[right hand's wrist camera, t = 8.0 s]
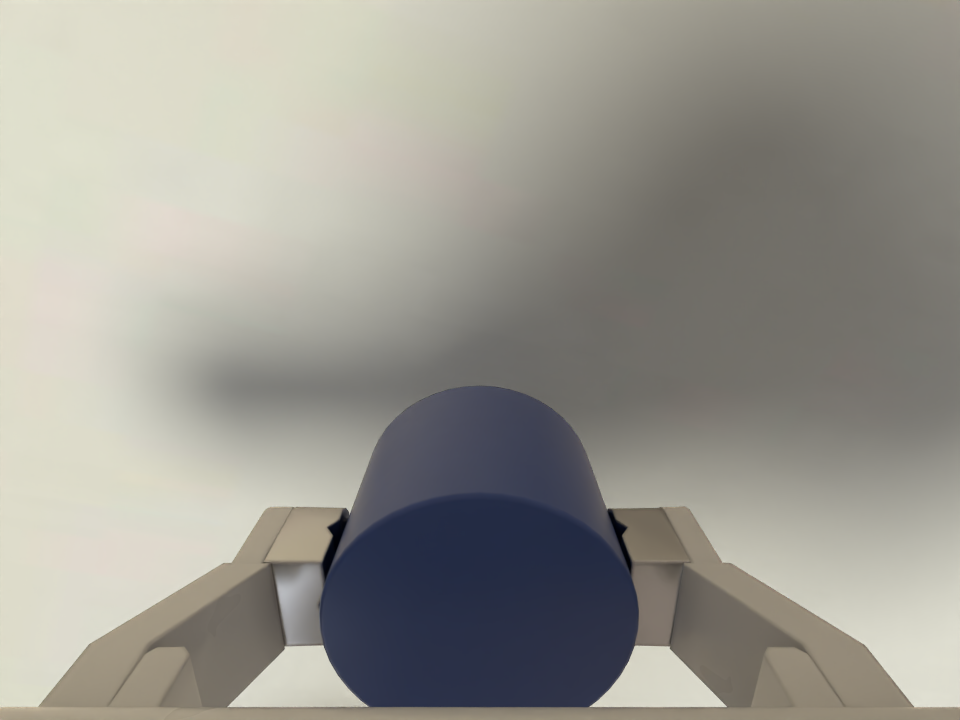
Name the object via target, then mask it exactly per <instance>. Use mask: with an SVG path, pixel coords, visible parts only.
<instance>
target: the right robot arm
mask: <svg viewBox="0 0 960 720" xmlns="http://www.w3.org/2000/svg"><path fill="white" fill-rule="evenodd" d="M607 511H608V514H609V517H610V520H611V522H612V525H613V528H614V531H615V533H616V536H617V539H618V542H619V544H620V547H621V550H622V552H623V555H624V558H625V561H626V563H627V566H628V569H629V572H630V574H631V577H632V580H633V583H634V587H635V590H636V593H637V598H638V606H639V625H638V632H637V637H636V641H635V645H642V646H670V649H671V650H672V651H673V652H674V653H675V654H676V655H677V656H678V657H679V658H680V659H681V660H682V661H683V662H684V663H685V664H686V665H687V666H688V667H689V668H690V669H691V670H692V672H693V673H694V674H695V675H696V676H697V677H698V678H699V679H700V680H701V681H702V682H703V683H704V684H705V685H706V686H707V687H708V688H709V689H710V690H711V691H712V692H713V693H714V694H715V695H716V696H717V697H718V698H719V699H720V700H721V701H722V702H723V703H724V704H725V705H726V706H727V707H227V706H228V705H229V704H230V703H231V702H232V701H233V700H234V699H235V698H236V697H237V696H238V695H239V694H240V693H241V692H242V691H243V690H244V689H245V688H246V687H247V686H248V685H249V684H250V683H251V682H252V681H253V680H254V679H255V678H256V677H257V676H258V675H259V674H260V673H261V672H262V671H263V670H264V669H265V668H266V667H267V666H268V665H269V664H270V663H271V662H272V661H273V660H274V659H275V658H276V657H277V656H278V655H279V654H280V653H281V652H282V651H283V650H284V649H285V648H284V646H312V645H323V640H322V636H321V631H320V619H319V609H320V600H321V594H322V591H323V587H324V584H325V581H326V578H327V575H328V572H329V570H330V567H331V564H332V561H333V559H334V556H335V553H336V551H337V548H338V545H339V543H340V540H341V537H342V534H343V532H344V529H345V526H346V524H347V521H348V518H349V512H348V510H347V509H346V508H323V507H269V508H267V509H266V510H265V511H264V512H263V514H262V515H261V517H260V519H259V520H258V522H257V523H256V525H255V527H254V528H253V530H252V531H251V533H250V535H249V536H248V538H247V539H246V541H245V543H244V544H243V546H242V547H241V549H240V551H239V552H238V554H237V555H236V557H235V559H234V560H233V562H232V563H223V564H221V565H220V566H218V567H216V568H215V569H213V570H212V571H210V572H208V573H207V574H205V575H203V576H202V577H200V578H198V579H197V580H195V581H193V582H192V583H190V584H188V585H187V586H185V587H183V588H182V589H180V590H178V591H177V592H175V593H173V594H172V595H170V596H168V597H167V598H165V599H164V600H162V601H160V602H159V603H157V604H155V605H154V606H152V607H150V608H149V609H147V610H145V611H144V612H142V613H140V614H139V615H137V616H135V617H134V618H132V619H130V620H129V621H127V622H125V623H124V624H122V625H120V626H119V627H117V628H116V629H114V630H112V631H111V632H109V633H107V634H106V635H104V636H102V637H101V638H99V639H97V640H96V641H94V642H92V643H91V644H89V645H88V646H87V648H86V649H85V650H84V651H83V653H82V654H81V655H80V656H79V658H78V659H77V660H76V661H75V662H74V664H73V665H72V666H71V667H70V669H69V670H68V671H67V672H66V673H65V675H64V676H63V677H62V678H61V680H60V681H59V682H58V683H57V684H56V686H55V687H54V688H53V689H52V691H51V692H50V693H49V694H48V696H47V697H46V698H45V699H44V700H43V702H42V703H41V704H40V705H39V707H0V720H960V707H914V706H913V705H912V704H911V702H910V701H909V700H908V699H907V697H906V696H905V695H904V694H903V692H902V691H901V690H900V689H899V687H898V686H897V685H896V684H895V682H894V681H893V680H892V679H891V677H890V676H889V675H888V674H887V672H886V671H885V670H884V669H883V667H882V666H881V665H880V664H879V662H878V661H877V660H876V659H875V657H874V656H873V655H872V653H871V652H870V651H869V650H868V648H867V647H866V646H865V645H864V644H862V643H860V642H859V641H857V640H855V639H854V638H852V637H851V636H849V635H847V634H846V633H844V632H842V631H841V630H839V629H838V628H836V627H834V626H833V625H831V624H829V623H828V622H826V621H824V620H823V619H821V618H820V617H818V616H816V615H815V614H813V613H811V612H810V611H808V610H806V609H805V608H803V607H802V606H800V605H798V604H797V603H795V602H793V601H792V600H790V599H788V598H787V597H785V596H784V595H782V594H780V593H779V592H777V591H775V590H774V589H772V588H771V587H769V586H767V585H766V584H764V583H762V582H761V581H759V580H757V579H756V578H754V577H753V576H751V575H749V574H748V573H746V572H744V571H743V570H741V569H739V568H738V567H736V566H735V565H733V564H731V563H722V561H721V559H720V558H719V556H718V555H717V553H716V551H715V550H714V548H713V547H712V545H711V543H710V542H709V540H708V538H707V537H706V535H705V534H704V532H703V530H702V529H701V527H700V526H699V524H698V522H697V521H696V519H695V517H694V516H693V514H692V513H691V511H690V509H688V508H687V507H660V508H617V509H608V510H607Z"/></svg>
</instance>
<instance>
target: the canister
mask: <svg viewBox="0 0 960 720" xmlns="http://www.w3.org/2000/svg"><path fill="white" fill-rule="evenodd" d="M319 619H320V631H321V636H322V640H323V645H324V648H325V650H326V653H327V655H328V658H329V661H330V662H331V664H332V666H333V668H334V669H335V671H336V673H337V674H338V676H339V677H340V678H341V680H342V681H343V682H344V684H345V685H346V686H347V687H348V689H350V690H351V691H352V692H353V693H354V694H355V695H356V696H357V697H358V698H359V699H360V700H361V701H362V702H364V703H365V704H366V705H368V706H369V707H589V706H591V705H592V704H593V703H595V702H596V701H597V700H599V699H600V698H601V697H602V696H603V695H604V694H605V693H606V692H607V691H608V690H609V689H610V688H611V686H612V685H613V684H614V683H615V681H616V680H617V679H618V678H619V676H620V675H621V673H622V672H623V670H624V668H625V666H626V665H627V663H628V661H629V659H630V656H631V654H632V651H633V649H634V646H635V641H636V637H637V632H638V625H639V606H638V598H637V593H636V590H635V587H634V583H633V580H632V577H631V574H630V572H629V569H628V566H627V563H626V561H625V558H624V555H623V552H622V550H621V547H620V544H619V542H618V539H617V536H616V533H615V531H614V528H613V525H612V522H611V520H610V517H609V514H608V511H607V509H606V506H605V503H604V500H603V498H602V495H601V492H600V489H599V487H598V484H597V481H596V479H595V476H594V473H593V470H592V468H591V465H590V462H589V459H588V457H587V454H586V451H585V449H584V447H583V445H582V443H581V441H580V439H579V437H578V436H577V434H576V433H575V432H574V430H573V429H572V427H571V426H570V425H569V424H568V423H567V422H566V421H565V420H564V419H563V418H562V417H561V416H560V415H559V414H558V413H556V412H555V411H554V410H553V409H552V408H550V407H548V406H547V405H545V404H544V403H542V402H540V401H539V400H537V399H534V398H532V397H530V396H528V395H526V394H523V393H520V392H517V391H513V390H510V389H504V388H499V387H491V386H468V387H460V388H454V389H449V390H445V391H442V392H439V393H436V394H433V395H431V396H429V397H426V398H424V399H422V400H420V401H418V402H417V403H415V404H413V405H412V406H410V407H409V408H407V409H406V410H405V411H403V412H402V413H401V414H400V415H399V416H397V417H396V418H395V419H394V420H393V422H392V423H391V424H390V425H389V426H388V427H387V428H386V430H385V431H384V433H383V434H382V436H381V437H380V439H379V440H378V442H377V444H376V447H375V449H374V451H373V453H372V456H371V459H370V461H369V464H368V467H367V469H366V472H365V475H364V478H363V480H362V483H361V486H360V488H359V491H358V494H357V497H356V499H355V502H354V505H353V507H352V510H351V513H350V515H349V518H348V521H347V524H346V526H345V529H344V532H343V534H342V537H341V540H340V543H339V545H338V548H337V551H336V553H335V556H334V559H333V561H332V564H331V567H330V570H329V572H328V575H327V578H326V581H325V584H324V587H323V591H322V594H321V600H320V609H319Z"/></svg>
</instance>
